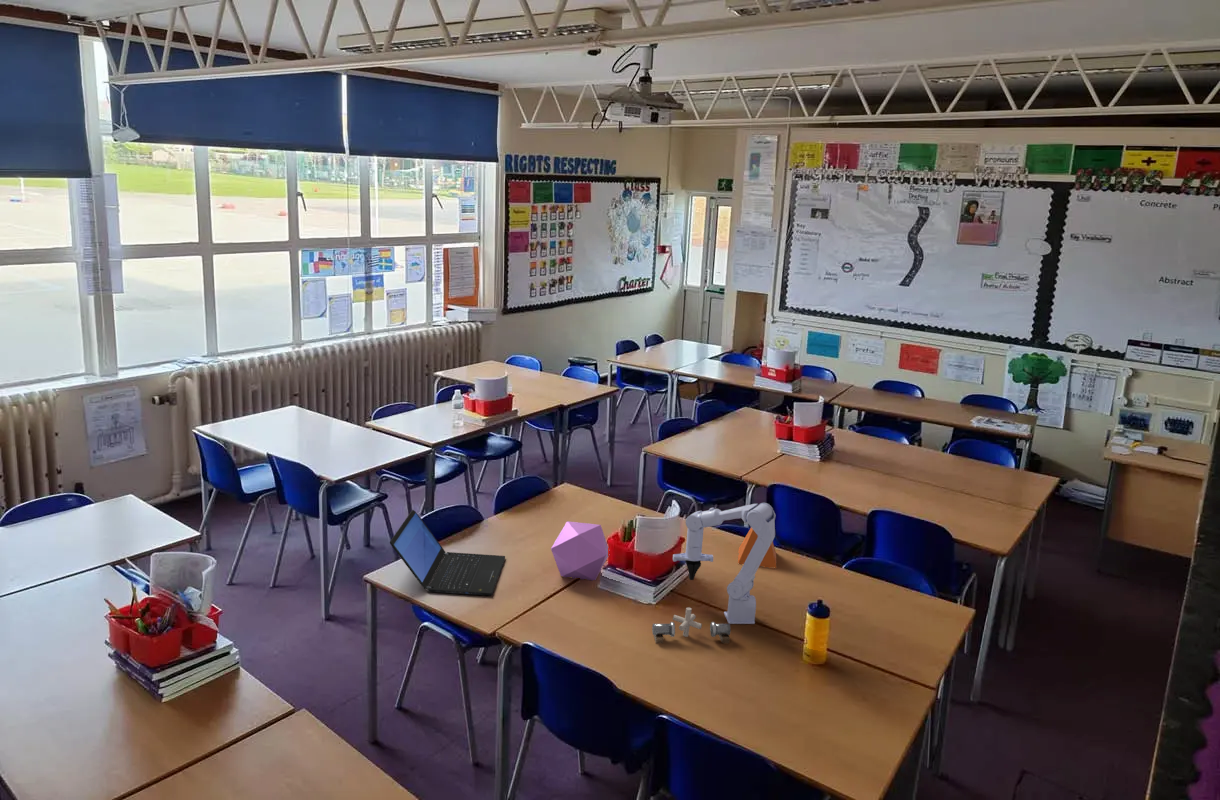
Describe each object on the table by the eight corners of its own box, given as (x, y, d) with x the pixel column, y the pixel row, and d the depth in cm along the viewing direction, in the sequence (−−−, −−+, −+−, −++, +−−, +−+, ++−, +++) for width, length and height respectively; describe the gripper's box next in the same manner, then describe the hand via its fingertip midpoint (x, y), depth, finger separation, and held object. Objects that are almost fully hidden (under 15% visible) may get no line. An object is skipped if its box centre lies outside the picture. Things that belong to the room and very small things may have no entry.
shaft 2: (726, 635, 290) (728, 619, 289) (729, 643, 285) (731, 626, 284) (709, 635, 290) (710, 619, 288) (712, 643, 285) (713, 626, 283)
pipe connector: (693, 646, 282) (696, 619, 280) (666, 636, 287) (669, 610, 284) (704, 633, 291) (708, 607, 288) (678, 624, 295) (681, 598, 293)
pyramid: (737, 564, 346) (742, 518, 341) (738, 548, 361) (743, 504, 356) (776, 569, 344) (782, 523, 339) (776, 553, 359) (781, 509, 354)
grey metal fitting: (671, 635, 288) (673, 619, 287) (674, 643, 283) (675, 626, 282) (651, 635, 288) (652, 619, 286) (653, 643, 283) (654, 626, 281)
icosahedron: (561, 538, 344) (556, 506, 325) (613, 544, 342) (611, 511, 322) (551, 588, 331) (545, 558, 311) (605, 595, 328) (602, 564, 309)
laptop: (492, 598, 307) (493, 549, 302) (389, 591, 308) (388, 542, 303) (506, 559, 339) (507, 513, 335) (412, 552, 340) (412, 507, 335)
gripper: (711, 540, 311) (708, 574, 314) (672, 539, 309) (669, 573, 313) (715, 548, 304) (712, 582, 307) (675, 547, 302) (673, 582, 306)
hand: (691, 578), depth 310 cm, fingers closed
